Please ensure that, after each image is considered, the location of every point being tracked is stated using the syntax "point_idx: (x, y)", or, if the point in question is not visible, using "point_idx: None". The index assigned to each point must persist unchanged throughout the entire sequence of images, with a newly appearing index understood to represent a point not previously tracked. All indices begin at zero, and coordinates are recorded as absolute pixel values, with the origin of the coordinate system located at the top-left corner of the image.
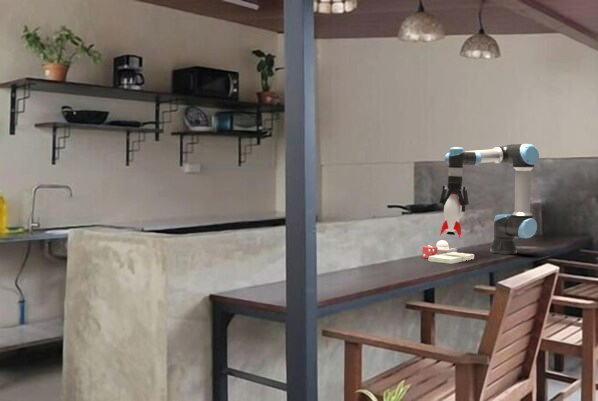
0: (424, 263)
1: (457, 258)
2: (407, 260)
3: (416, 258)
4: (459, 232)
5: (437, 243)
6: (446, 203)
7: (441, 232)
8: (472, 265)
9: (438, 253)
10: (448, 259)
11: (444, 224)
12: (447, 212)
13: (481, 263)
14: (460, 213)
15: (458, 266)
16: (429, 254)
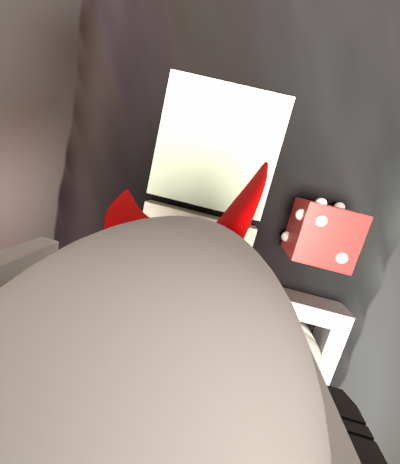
0: (289, 10)
1: (156, 144)
2: (396, 60)
3: (367, 163)
4: (118, 198)
5: (314, 351)
6: (275, 417)
7: (260, 170)
8: (82, 99)
9: (287, 293)
10: (182, 71)
11: (245, 198)
12: (212, 231)
13: (69, 186)
14: (5, 256)
15: (123, 22)
16: (313, 201)
